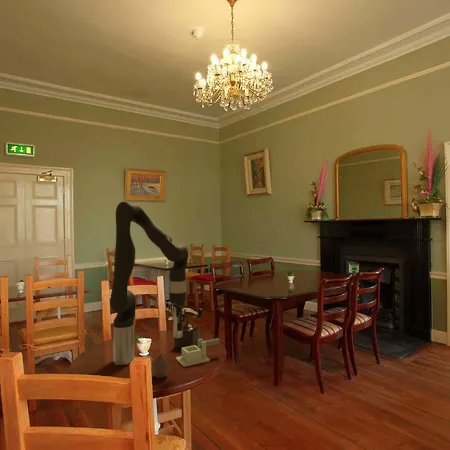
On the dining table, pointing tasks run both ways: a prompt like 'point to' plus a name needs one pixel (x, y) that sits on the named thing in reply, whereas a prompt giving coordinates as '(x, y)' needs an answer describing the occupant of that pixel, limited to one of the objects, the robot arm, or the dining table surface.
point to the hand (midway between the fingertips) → (177, 329)
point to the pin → (210, 342)
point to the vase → (160, 367)
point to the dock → (193, 354)
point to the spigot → (176, 333)
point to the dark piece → (189, 333)
